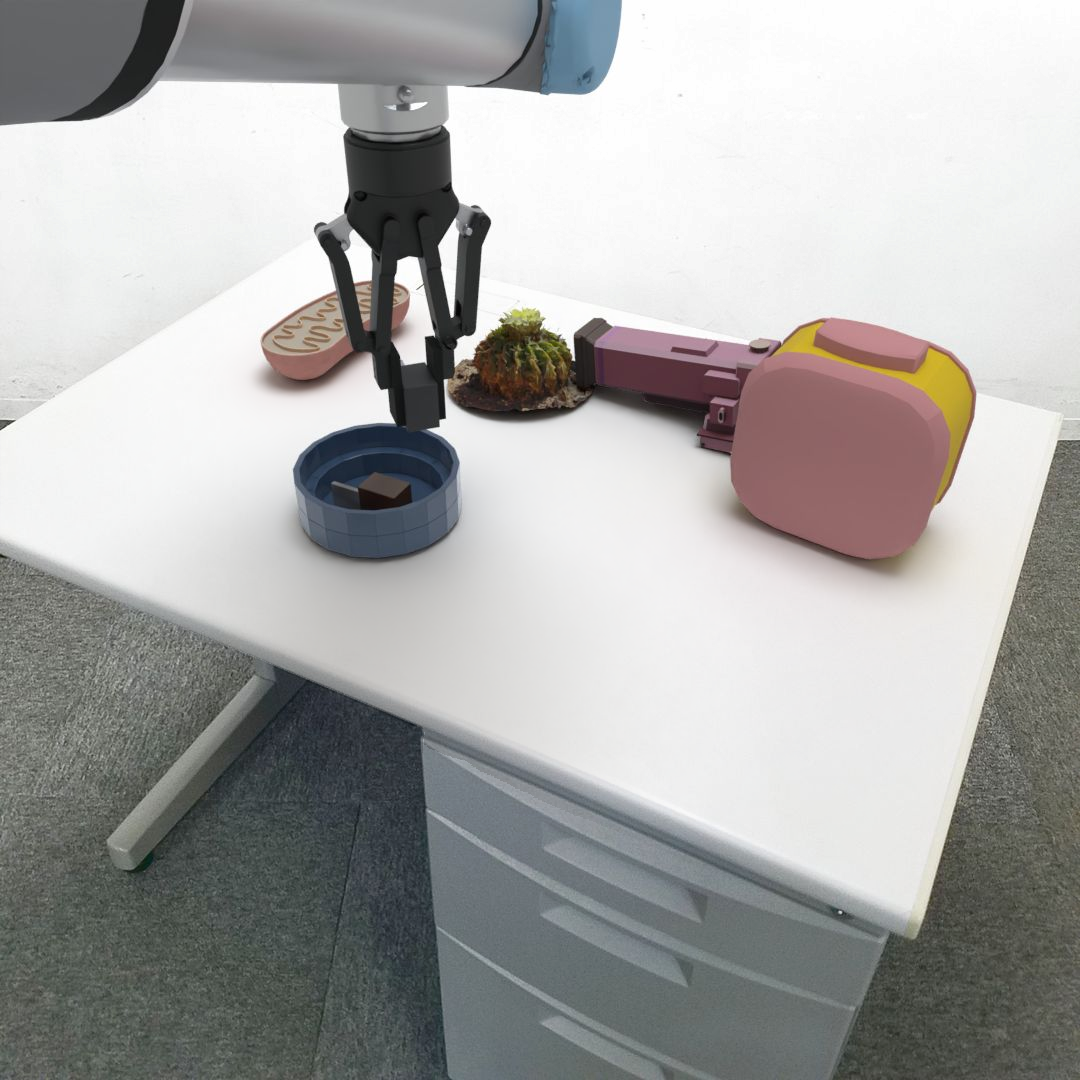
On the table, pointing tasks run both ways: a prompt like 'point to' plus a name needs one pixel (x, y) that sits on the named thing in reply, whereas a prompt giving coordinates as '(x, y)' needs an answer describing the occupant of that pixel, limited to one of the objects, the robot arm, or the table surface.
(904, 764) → the table surface
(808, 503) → the alarm clock
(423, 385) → the cube with grey tab
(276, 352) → the anatomical model
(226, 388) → the table surface
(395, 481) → the blade walnut
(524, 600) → the table surface
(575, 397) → the cactus
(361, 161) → the robot arm
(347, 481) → the bowl
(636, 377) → the electronic device
